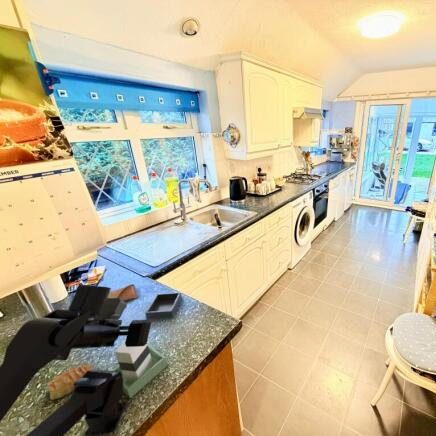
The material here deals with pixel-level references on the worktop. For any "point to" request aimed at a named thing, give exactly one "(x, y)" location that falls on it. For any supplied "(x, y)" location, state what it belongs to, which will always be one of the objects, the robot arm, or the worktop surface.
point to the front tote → (157, 366)
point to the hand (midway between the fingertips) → (132, 333)
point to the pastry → (66, 381)
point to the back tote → (163, 305)
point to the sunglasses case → (124, 293)
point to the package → (133, 361)
